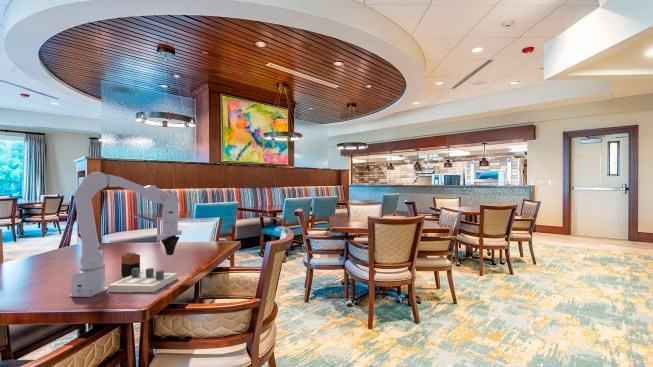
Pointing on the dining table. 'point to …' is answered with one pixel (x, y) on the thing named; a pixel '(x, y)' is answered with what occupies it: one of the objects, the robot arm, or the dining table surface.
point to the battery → (129, 263)
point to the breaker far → (135, 272)
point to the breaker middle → (149, 272)
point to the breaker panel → (141, 283)
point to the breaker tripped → (160, 274)
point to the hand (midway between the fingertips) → (170, 254)
